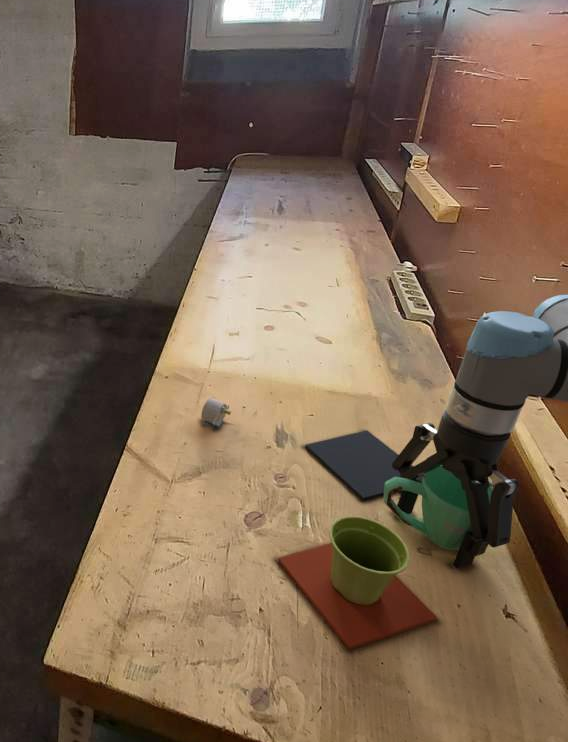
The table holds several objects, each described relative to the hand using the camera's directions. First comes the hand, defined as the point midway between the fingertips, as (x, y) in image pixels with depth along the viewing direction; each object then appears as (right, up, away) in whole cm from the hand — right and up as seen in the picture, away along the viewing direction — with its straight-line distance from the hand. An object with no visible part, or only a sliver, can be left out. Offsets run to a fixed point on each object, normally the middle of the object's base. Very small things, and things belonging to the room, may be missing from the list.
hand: (430, 537), depth 86 cm
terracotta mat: (-16, -4, -7) cm, 18 cm away
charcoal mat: (-1, +7, +15) cm, 17 cm away
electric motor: (-24, +12, +27) cm, 38 cm away
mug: (0, 0, +1) cm, 1 cm away
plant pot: (-16, -4, -7) cm, 18 cm away
